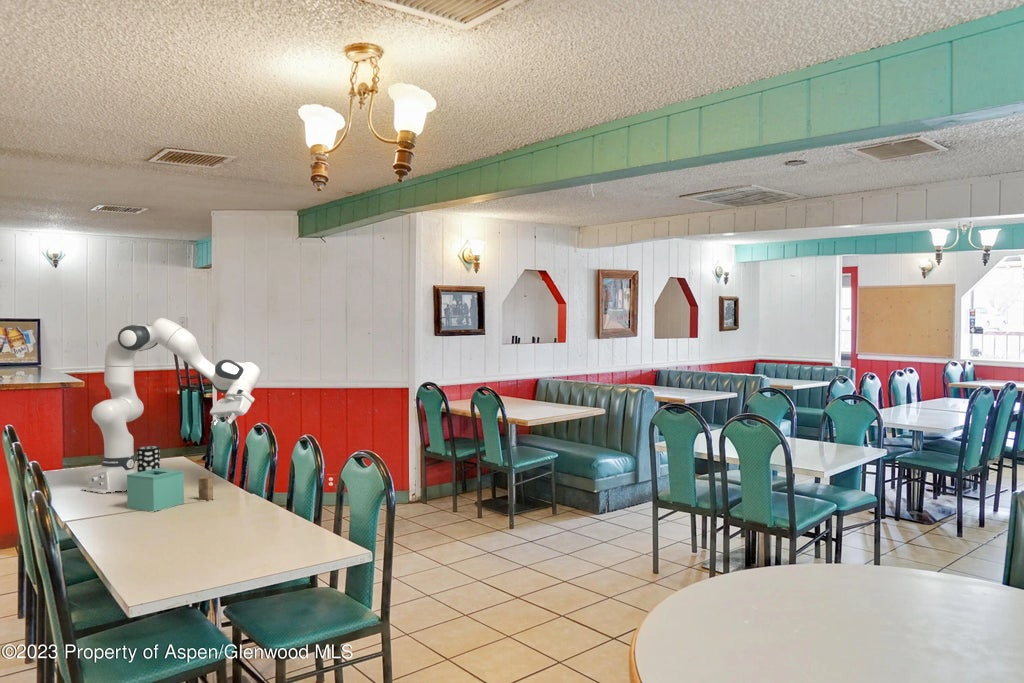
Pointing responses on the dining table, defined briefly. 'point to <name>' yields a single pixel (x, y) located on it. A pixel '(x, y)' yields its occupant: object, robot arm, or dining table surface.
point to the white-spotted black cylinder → (148, 458)
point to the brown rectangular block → (205, 488)
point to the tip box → (155, 489)
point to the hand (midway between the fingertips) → (220, 423)
